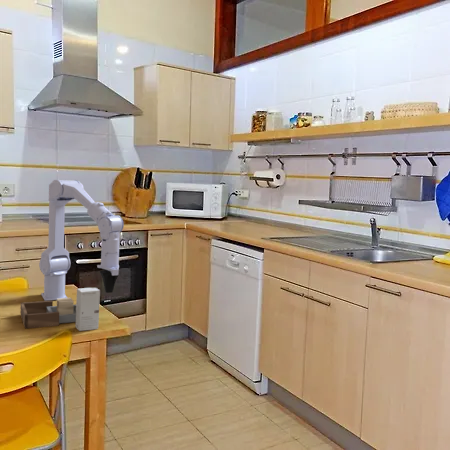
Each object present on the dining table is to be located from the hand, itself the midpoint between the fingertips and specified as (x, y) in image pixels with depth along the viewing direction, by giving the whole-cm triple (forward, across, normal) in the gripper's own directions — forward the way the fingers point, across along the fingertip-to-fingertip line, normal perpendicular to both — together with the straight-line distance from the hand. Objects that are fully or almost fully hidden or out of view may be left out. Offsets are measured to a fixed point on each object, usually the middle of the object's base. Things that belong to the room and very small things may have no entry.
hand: (108, 292), depth 162 cm
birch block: (+7, 0, -14) cm, 16 cm away
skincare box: (+8, +12, -10) cm, 17 cm away
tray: (+8, 0, -12) cm, 15 cm away
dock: (+8, 0, -22) cm, 23 cm away
